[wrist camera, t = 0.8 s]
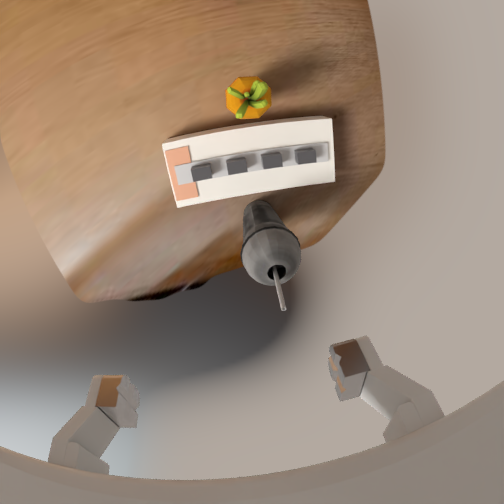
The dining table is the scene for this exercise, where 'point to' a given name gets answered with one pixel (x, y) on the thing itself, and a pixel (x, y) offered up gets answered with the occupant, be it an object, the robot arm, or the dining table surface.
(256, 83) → the carrot
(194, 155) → the breaker panel
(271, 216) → the beverage cup
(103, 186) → the dining table surface
